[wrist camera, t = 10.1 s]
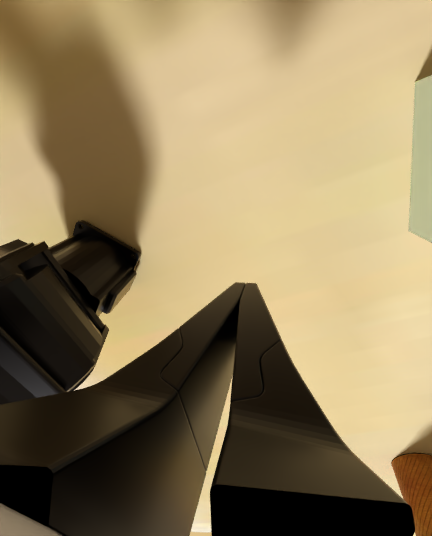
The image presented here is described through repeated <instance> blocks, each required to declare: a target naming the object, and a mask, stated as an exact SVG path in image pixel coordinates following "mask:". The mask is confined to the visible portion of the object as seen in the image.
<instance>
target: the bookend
mask: <svg viewBox="0 0 432 536" xmlns="http://www.w3.org/2000/svg"><path fill="white" fill-rule="evenodd" d="M409 232H411V233H413V234H415V235H417V236H419V237H421V238H423V239H425V240H427V241H429V242H431V243H432V75H431V76H428V77H426V78H423V79H421V80H418V81H416V82H415V93H414V116H413V139H412V162H411V185H410V208H409Z"/></svg>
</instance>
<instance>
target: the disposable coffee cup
mask: <svg viewBox="0 0 432 536" xmlns="http://www.w3.org/2000/svg"><path fill="white" fill-rule="evenodd" d="M391 464H392V467H393V470H394V473H395V476H396V479H397V482H398V484H399V487H400V490H401V493H402V496H403V499H404V500H405V501H406V502H407V503H408V504H409V505H410V506H411V508H412V511H413V517H414V522H415V534H416V536H432V456H431V455H427V454H416V453H415V454H406V455H402V456H399V457H397V458H395V459H394V460H393V461H392V463H391Z"/></svg>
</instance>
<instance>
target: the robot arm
mask: <svg viewBox="0 0 432 536" xmlns="http://www.w3.org/2000/svg"><path fill="white" fill-rule="evenodd" d="M81 225H83V227H82V226H81ZM133 254H135V255H136V257H135V256H134V255H133ZM140 256H141V255H140V253H139V252H138V251H137V250H135V249H133V248H132V247H130V246H128V245H126V244H124V243H123V242H121V241H119V240H117V239H116V238H114V237H112V236H110V235H108V234H107V233H105V232H103V231H101V230H100V229H98V228H96V227H94V226H92V225H91V224H89V223H87V222H85V221H83V220H81V221H78V222H76V225H75V229H74V233H73V236H72V237H70V238H68V239H66V240H64V241H62V242H60V243H58V244H56V245H54V246H52V247H50V248H49V247H48V246H47V244H46V243H45V241H43V242H40V243H38V244H35V245H34V244H33V243H29V244H27V243H25V242H23V241H21V240H19V239H17V240H15V241H12V242H10V243H7V244H5V245H2V246H0V536H189V535H190V531H191V528H192V524H193V520H194V516H195V513H196V509H197V505H198V502H199V498H200V494H201V490H202V487H203V483H204V479H205V476H206V471H207V468H208V464H209V460H210V457H211V453H212V449H213V445H214V442H215V438H216V434H217V431H218V427H219V423H220V419H221V416H222V412H223V408H224V405H225V401H226V397H227V393H228V390H229V386H230V382H231V379H232V375H233V379H232V390H231V404H230V412H229V420H228V426H227V430H226V434H225V437H224V441H223V445H222V449H221V452H220V456H219V460H218V463H217V467H216V471H215V475H214V478H213V482H212V486H211V489H210V504H211V529H212V536H413V534H414V532H415V522H414V517H413V511H412V508H411V506H410V505H409V504H408V503H407V502H406V501H405V500H404V499H402V498H401V497H400V496H399V495H398V494H397V493H396V492H395V491H394V490H393V489H392V488H390V487H389V486H388V485H387V484H386V483H385V482H384V481H383V480H382V479H381V478H380V477H379V476H377V475H376V474H375V473H374V472H373V471H372V470H371V469H370V468H369V467H368V466H367V465H365V464H364V463H363V462H362V461H361V460H360V459H359V458H358V457H357V456H356V455H355V454H354V453H353V452H352V451H351V450H350V449H349V448H348V447H347V445H346V444H345V443H344V442H343V441H342V439H341V438H340V436H339V435H338V434H337V432H336V431H335V429H334V428H333V426H332V425H331V423H330V422H329V420H328V419H327V417H326V416H325V414H324V412H323V411H322V409H321V408H320V406H319V405H318V403H317V401H316V400H315V398H314V397H313V395H312V393H311V392H310V390H309V389H308V387H307V386H306V384H305V382H304V381H303V379H302V377H301V376H300V374H299V372H298V371H297V369H296V367H295V366H294V364H293V362H292V360H291V358H290V356H289V354H288V352H287V350H286V348H285V345H284V343H283V341H282V339H281V337H280V335H279V332H278V330H277V328H276V326H275V324H274V321H273V319H272V317H271V315H270V312H269V310H268V308H267V306H266V304H265V301H264V299H263V297H262V295H261V293H260V290H259V288H258V286H257V284H256V283H246V284H245V283H238V282H236V283H234V284H233V285H232V286H230V287H229V288H228V289H227V290H225V291H224V292H223V293H222V294H220V295H219V296H218V297H217V298H215V299H214V300H213V301H212V302H210V303H209V304H208V305H207V306H205V307H204V308H203V309H202V310H200V311H199V312H198V313H197V314H195V315H194V316H193V317H192V318H190V319H189V320H188V321H187V322H185V323H184V324H183V325H182V326H180V327H179V329H177V330H175V331H174V332H173V333H172V334H170V335H169V336H168V337H166V338H165V339H164V340H162V341H161V342H160V343H158V344H157V345H156V346H154V347H153V348H151V349H150V350H148V351H147V352H146V353H144V354H143V355H141V356H140V357H138V358H137V359H135V360H134V361H132V362H131V363H129V364H128V365H126V366H125V367H123V368H122V369H120V370H119V371H117V372H116V373H114V374H113V375H111V376H109V377H108V378H106V379H105V380H103V381H101V382H99V383H97V384H95V385H92V386H90V387H87V388H83V389H79V390H75V389H76V388H77V387H78V386H79V385H81V384H82V383H83V382H84V381H85V380H86V378H87V377H88V376H89V375H90V373H91V372H92V371H93V369H94V367H95V365H96V362H97V360H98V357H99V355H100V352H101V349H102V347H103V344H104V342H105V339H106V337H107V334H108V331H109V329H108V327H107V326H106V325H104V324H103V323H102V321H101V320H100V319H99V317H98V316H99V315H100V314H101V313H102V312H104V313H106V314H107V313H110V312H111V311H112V310H113V308H114V307H115V306H116V305H117V304H118V302H119V301H120V300H121V299H122V298H123V296H124V295H125V294H126V293H127V292H128V291H129V289H130V287H131V285H132V283H133V281H134V278H135V276H136V271H134V270H135V268H136V266H137V263H138V261H139V259H140ZM73 390H75V391H73Z"/></svg>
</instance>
